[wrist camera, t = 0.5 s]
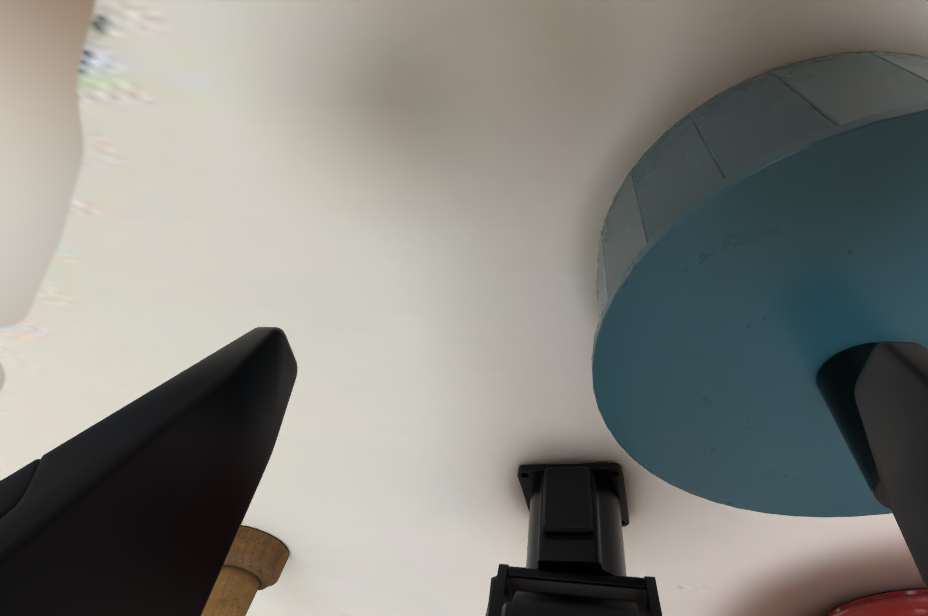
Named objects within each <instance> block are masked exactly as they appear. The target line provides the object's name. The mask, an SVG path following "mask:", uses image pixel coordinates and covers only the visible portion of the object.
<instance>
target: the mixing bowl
mask: <svg viewBox="0 0 928 616" xmlns="http://www.w3.org/2000/svg"><path fill="white" fill-rule="evenodd" d="M827 616H928V590H927V589H917V590H906V591H894V592H887V593H883V594H878V595H873V596H869V597H865V598H861V599H857V600H855V601H852V602H850V603H847V604H844V605H842V606H840V607H838V608H837V609H835V610H833V611H832V612H830V613H829V614H828V615H827Z"/></svg>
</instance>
